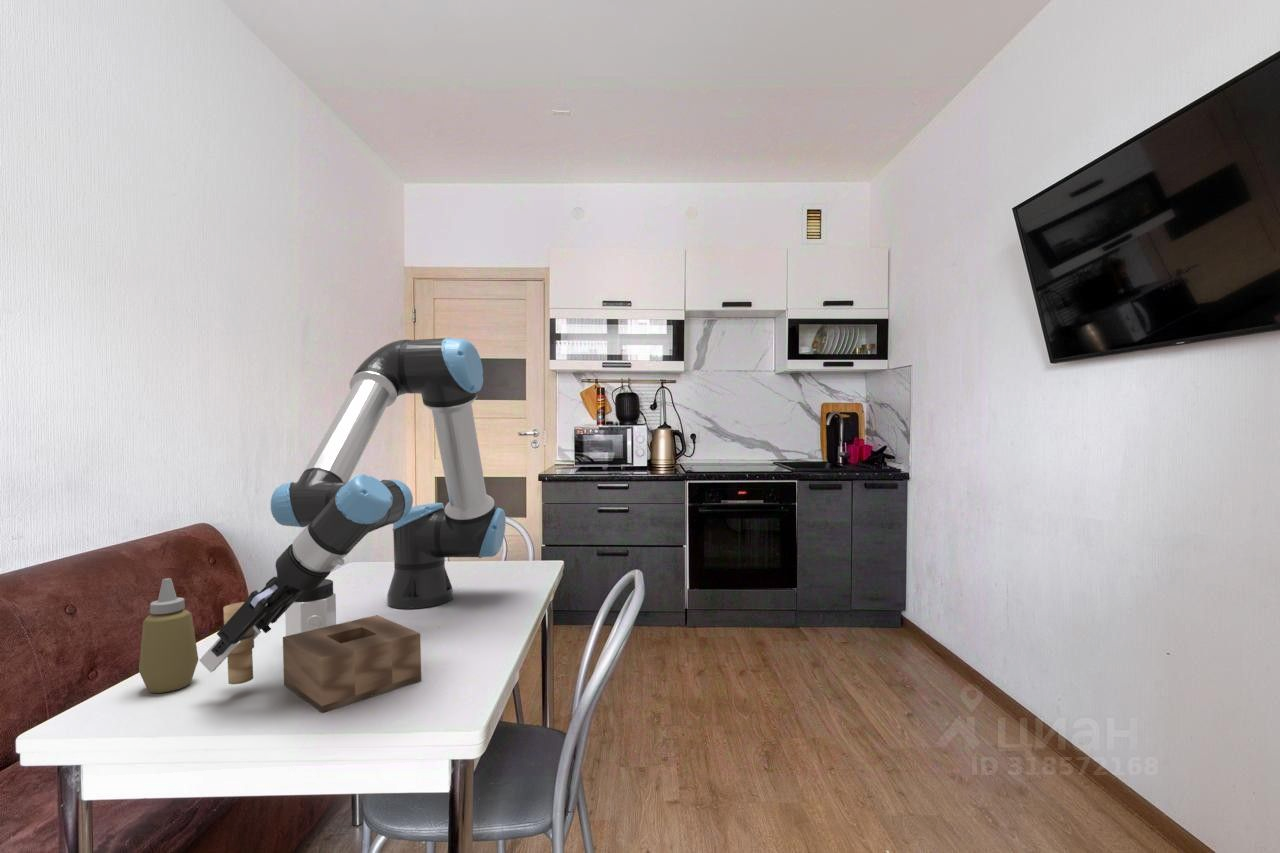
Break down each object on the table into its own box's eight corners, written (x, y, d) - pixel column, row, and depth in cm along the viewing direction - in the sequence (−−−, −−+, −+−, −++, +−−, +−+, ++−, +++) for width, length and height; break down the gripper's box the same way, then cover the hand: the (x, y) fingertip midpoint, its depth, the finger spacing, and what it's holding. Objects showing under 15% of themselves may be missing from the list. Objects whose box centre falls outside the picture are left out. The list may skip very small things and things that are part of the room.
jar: (288, 655, 124) (286, 591, 124) (284, 643, 131) (282, 583, 131) (340, 645, 129) (338, 584, 129) (333, 634, 136) (331, 576, 136)
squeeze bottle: (152, 701, 104) (149, 587, 104) (130, 690, 108) (127, 581, 108) (208, 683, 111) (205, 576, 111) (185, 674, 115) (182, 571, 115)
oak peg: (251, 672, 109) (248, 600, 108) (259, 679, 106) (257, 605, 106) (222, 680, 106) (219, 606, 105) (229, 687, 103) (227, 611, 102)
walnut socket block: (378, 658, 121) (377, 615, 121) (421, 680, 110) (420, 632, 110) (284, 685, 109) (282, 636, 109) (321, 712, 98) (320, 659, 98)
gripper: (294, 588, 95) (192, 699, 97) (357, 561, 112) (269, 656, 114) (259, 552, 96) (158, 663, 98) (326, 530, 113) (239, 625, 115)
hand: (218, 659), depth 106 cm, fingers closed on oak peg, 4 cm apart
